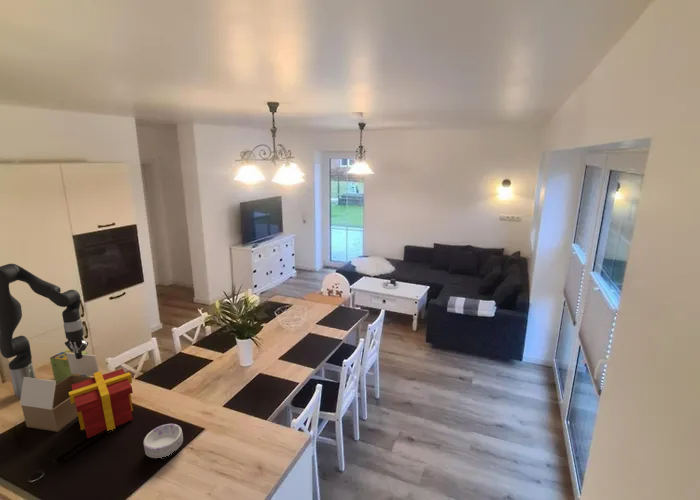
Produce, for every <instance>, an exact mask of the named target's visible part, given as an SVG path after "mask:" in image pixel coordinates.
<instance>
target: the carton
mask: <svg viewBox="0 0 700 500" xmlns="http://www.w3.org/2000/svg"><path fill="white" fill-rule="evenodd" d="M91 378H94V376H89V377H85V376H77V375H70V376H69V377H67V378H65V379H64V380H62V381H60V382H56V386H55V393H54V401H53V408H52V409H44V408H37V407H30V406H23V405H20V406H21V409H22V414H23V417H24V421H25V425H26V427H27V428H30V429H31V428H32V429H39V430H43V431H44V430H46V431H51V432H56V433H58V432H60V431H61V430H63V429H64V428H65V427H66V426H68V425H69V424H70V423H72V422H73V421H75V419H77V418H78V414H77V409H76V404H75V403H73V404H71V401H70V397H69V392H70V391H73V390H72V384H75V383H78V382H82V381H85V380H88V379H91ZM67 424H68V425H67Z"/></svg>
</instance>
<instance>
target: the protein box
mask: <svg viewBox="0 0 700 500" xmlns="http://www.w3.org/2000/svg"><path fill="white" fill-rule="evenodd" d="M66 353H74V352H73V351H72V352H71V351H70V350H69V348H67V349H64V350H63V351H60V352H59V353H57V354H55V355H52V356H50V357H49V360H50V364H51V369H52V375H53V379H54V381H56V383H59V382H60V381H62V380H64V379H65V378H67V377H69V376H70V375H77V376H85V377H90V376H88V375H80V374H72V373H71V370H70V366H69V362H68V359H67V355H66ZM82 354H86V355H89V354H88V351H86V350H84V351H82Z"/></svg>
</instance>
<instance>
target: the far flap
mask: <svg viewBox="0 0 700 500" xmlns="http://www.w3.org/2000/svg"><path fill="white" fill-rule="evenodd" d="M66 355H67V359H68V362H69V366H70V370H71V373H72V374H80V375H88V376H89V377H94V374H93V373H96V372H99V371H100V368H99V364H98V360H97V356H96V355H93V354H88V355H86V354H82V358H81V359H76V357H75V353H66Z"/></svg>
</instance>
